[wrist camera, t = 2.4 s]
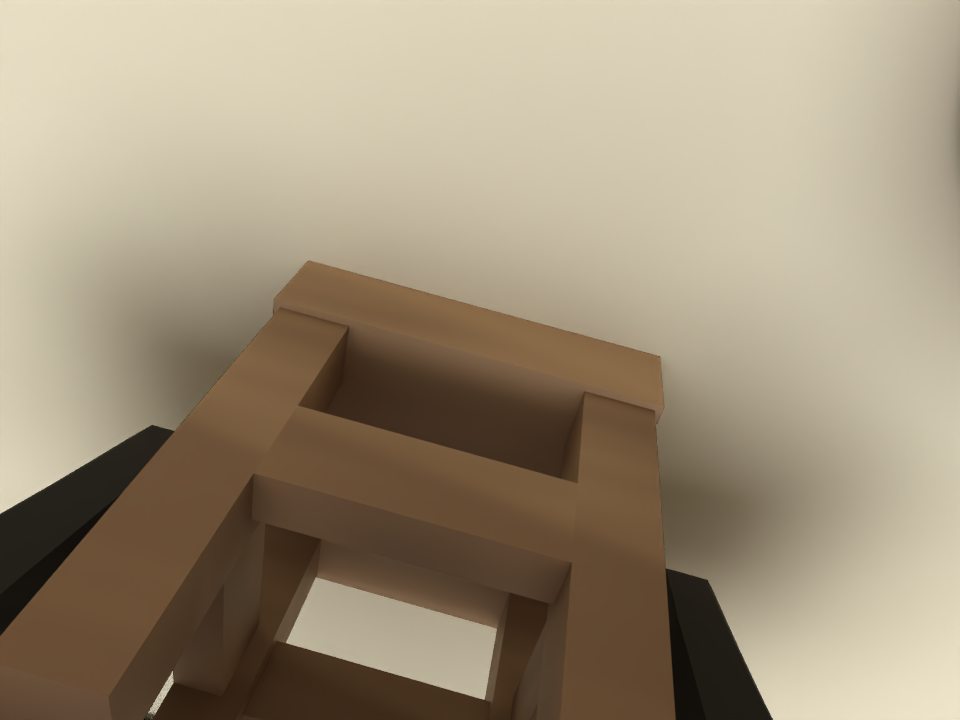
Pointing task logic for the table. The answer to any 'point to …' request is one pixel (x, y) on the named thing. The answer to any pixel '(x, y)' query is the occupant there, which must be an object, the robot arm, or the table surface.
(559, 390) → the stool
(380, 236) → the table surface
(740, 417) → the table surface
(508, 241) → the table surface
